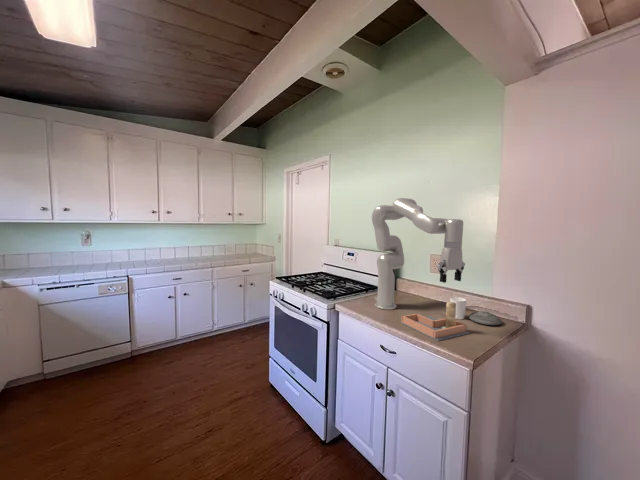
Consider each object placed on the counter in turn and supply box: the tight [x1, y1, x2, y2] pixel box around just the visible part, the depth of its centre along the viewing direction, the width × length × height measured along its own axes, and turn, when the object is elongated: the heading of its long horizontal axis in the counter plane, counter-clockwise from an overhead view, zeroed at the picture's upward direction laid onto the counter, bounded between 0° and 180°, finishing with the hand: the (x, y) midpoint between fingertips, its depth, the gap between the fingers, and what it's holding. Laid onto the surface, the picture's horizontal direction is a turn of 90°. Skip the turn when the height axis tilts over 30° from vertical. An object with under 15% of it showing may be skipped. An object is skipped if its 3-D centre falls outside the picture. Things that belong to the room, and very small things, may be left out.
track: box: [400, 313, 470, 342], centre depth 134 cm, size 23×20×4 cm
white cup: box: [449, 296, 467, 320], centre depth 149 cm, size 8×8×10 cm
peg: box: [445, 301, 456, 328], centre depth 131 cm, size 4×4×12 cm
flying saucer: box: [468, 310, 503, 326], centre depth 144 cm, size 15×15×6 cm
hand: (450, 281), depth 133 cm, fingers open, 9 cm apart
